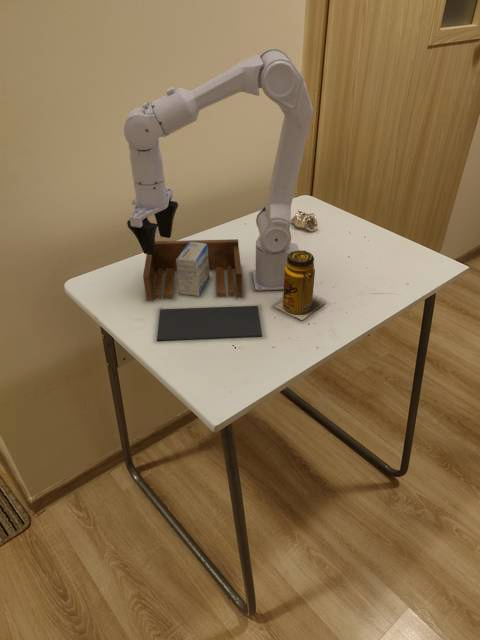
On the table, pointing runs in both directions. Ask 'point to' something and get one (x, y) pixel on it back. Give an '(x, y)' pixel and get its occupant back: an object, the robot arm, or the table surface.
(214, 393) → the table surface
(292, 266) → the condiment
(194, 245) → the medicine box
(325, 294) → the table surface
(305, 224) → the ornament
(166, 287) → the shelf rack
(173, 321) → the rubber mat
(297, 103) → the robot arm
